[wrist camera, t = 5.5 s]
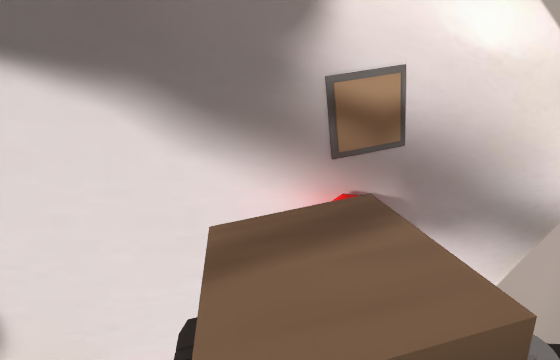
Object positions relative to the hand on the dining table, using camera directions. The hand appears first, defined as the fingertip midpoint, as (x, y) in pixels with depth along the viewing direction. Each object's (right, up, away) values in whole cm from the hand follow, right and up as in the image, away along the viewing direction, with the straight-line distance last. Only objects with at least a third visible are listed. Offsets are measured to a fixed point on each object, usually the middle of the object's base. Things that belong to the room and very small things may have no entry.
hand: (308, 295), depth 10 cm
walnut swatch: (+8, +11, +19) cm, 23 cm away
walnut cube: (0, 0, +1) cm, 1 cm away
